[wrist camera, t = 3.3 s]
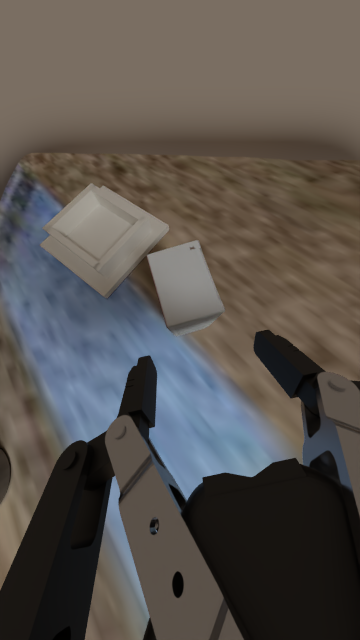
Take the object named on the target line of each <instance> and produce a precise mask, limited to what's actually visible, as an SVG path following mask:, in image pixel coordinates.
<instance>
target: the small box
mask: <svg viewBox="0 0 360 640" xmlns="http://www.w3.org/2000/svg"><path fill="white" fill-rule="evenodd" d="M146 257H147V260H148V263H149V267H150V270H151V274H152V278H153V281H154V285H155V288H156V291H157V295H158V299H159V302H160V305H161V309H162V312H163V316H164V319H165V323H166V326H167V328H168V329H169V330H170V331H171V332H172V333H173V334H174V335H175V336H176V337H177V336H180V335H184V334H187V333H190V332H194V331H197V330H200V329H203V328H206V327H208V326H209V325H210V324H211V323H212V322H213V321H214V320H216V319H217V318H218V317H219V316H220V315H221V314H222V313H223V312H224V311H225V308H224V305H223V303H222V301H221V299H220V297H219V294H218V292H217V289H216V287H215V284H214V282H213V279H212V277H211V274H210V271H209V269H208V266H207V264H206V261H205V259H204V256H203V253H202V250H201V247H200V244H199V241H198V240H196V241H192V242H189V243H185V244H182V245H178V246H175V247H171V248H168V249H165V250H161V251H158V252H154V253H151V254H148V255H147V256H146Z"/></svg>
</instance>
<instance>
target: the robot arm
mask: <svg viewBox="0 0 360 640" xmlns="http://www.w3.org/2000/svg"><path fill="white" fill-rule="evenodd" d="M254 352H255V354H256V355H257V356H258V358H259V359H260V360H261V362H262V363H263V364H264V365H265V367H266V368H267V369H268V370H269V372H270V373H271V374H272V375H273V377H274V378H275V379H276V380H277V382H278V383H279V384H280V385H281V387H282V388H283V389H284V390H285V392H286V393H287V394H288V396H289V397H290V398H295V397H299V398H300V399H301V411H302V420H303V429H304V445H303V453H302V454H303V465H302V464H299V462H298V461H297V459H296V458H293V459H288V460H283V461H278V462H274V463H272V464H270V465H269V466H268V467H266V468H265V469H264V470H262V471H261V472H260V473H258V474H257V475H256V476H254V477H246V476H241V475H235V474H230V473H221V474H217V475H212V476H207V477H202V478H203V483H201V484H200V485H199V486H198V487H197V488H196V489H195V490H194V491H193V492H192V494H191V495H190V497H189V498H188V500H186V498H185V496H184V495H183V493H182V491H181V489H180V488H179V486H178V484H177V483H176V481H175V479H174V478H173V476H172V475H171V473H170V472H169V471H168V469H167V468H166V466H165V464H164V462H163V461H162V459H161V457H160V456H159V454H158V452H157V450H156V449H155V447H154V445H153V443H152V442H151V440H150V438H149V428H152V427H155V411H156V387H157V371H156V368H155V365H154V363H153V361H152V359H151V357H150V356H144V357H140V358H139V359H138V364H137V366H133V367H132V369H131V370H130V372H129V374H128V378H127V382H126V386H125V390H124V394H123V398H122V402H121V406H120V410H119V414H118V416H117V419H115V420H114V421H113V422H112V424H111V425H110V426H109V428H108V430H107V431H106V432H104V433H102V434H101V435H99V436H97V437H96V438H94V439H92V440H91V441H89V442H87V443H86V442H85V441H82V440H80V441H76V442H74V443H72V444H71V445H70V446H69V447H67V448H66V449H65V451H64V452H63V453H62V454H61V456H60V457H59V459H58V460H57V462H56V464H55V466H54V469H53V471H52V473H51V476H50V478H49V480H48V483H47V485H46V487H45V489H44V492H43V494H42V496H41V499H40V501H39V503H38V505H37V508H36V510H35V512H34V515H33V517H32V519H31V521H30V524H29V526H28V528H27V531H26V533H25V535H24V538H23V540H22V542H21V544H20V547H19V549H18V551H17V554H16V556H15V558H14V560H13V563H12V565H11V567H10V570H9V572H8V574H7V577H6V579H5V581H4V583H3V586H2V588H1V590H0V640H84V639H85V634H86V628H87V622H88V616H89V610H90V605H91V599H92V593H93V587H94V581H95V576H96V570H97V564H98V558H99V553H100V547H101V541H102V535H103V529H104V524H105V518H106V512H107V506H108V500H109V495H110V489H111V483H112V477H114V476H116V479H117V482H118V485H119V489H120V497H119V510H120V514H121V518H122V521H123V525H124V528H125V532H126V535H127V539H128V542H129V546H130V549H131V553H132V556H133V559H134V563H135V566H136V570H137V573H138V577H139V580H140V584H141V587H142V591H143V594H144V598H145V601H146V604H147V608H148V611H149V615H150V618H149V621H148V625H147V628H146V631H145V635H144V638H143V640H360V381H350V380H348V379H347V378H345V377H343V376H341V375H338V374H335V373H331V372H326V371H324V370H323V369H322V368H321V367H319V366H318V365H317V364H316V363H315V362H313V361H312V360H311V359H310V358H309V357H307V356H306V355H305V354H304V353H302V352H301V351H299V349H298V348H296V347H295V346H293V344H292V343H290V342H289V341H288V340H287V339H285V338H283V337H281V336H279V335H274V334H273V333H272V332H271V331H270V330H264V331H260V332H256V335H255V341H254ZM9 479H10V466H9V462H8V459H7V457H6V455H5V453H4V452H3V451H2V450H1V449H0V503H1V502H2V500H3V498H4V496H5V494H6V492H7V488H8V485H9ZM156 530H157V532H156Z"/></svg>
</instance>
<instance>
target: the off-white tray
mask: <svg viewBox="0 0 360 640" xmlns="http://www.w3.org/2000/svg"><path fill="white" fill-rule="evenodd" d="M43 229H44V230H45V231H46V232H48V233H49V234H50V236H49V237H48V238H47V239H45V240H44V241H43V242H42V243H41V244H40V246H41V247H43V248H44V249H45V250H46V251H48V252H49V253H50V254H51V255H53V256H54V257H55V258H56V259H58V260H59V261H60V262H61V263H62V264H64V265H65V266H66V267H67V268H69V269H70V270H71V271H72V272H74V273H75V274H76V275H77V276H79V277H80V278H81V279H82V280H84V281H85V282H86V283H87V284H89V285H90V286H91V287H92V288H93V289H95V290H96V291H97V292H98V293H100V294H101V295H102V296H103V297H105V298H108V297H109V296H110V295H111V294H112V293H113V292H114V291H115V289H116V288H117V287H118V286H119V285H120V284H121V283H122V282H123V281H124V279H125V278H126V277H127V276H128V275H129V274H130V273H131V272H132V271H133V269H134V268H135V267H136V266H137V265H138V264H139V263H140V262H141V261H142V259H143V258H144V257H145V256H146V255H147V254H148V253H149V252H150V251H151V250H152V248H153V247H154V246H155V245H156V244H157V243H158V242H159V241H160V240H161V238H162V237H163V236H164V235H165V234H166V233H167V232H168V231H169V225H167V224H166V223H164V222H162V221H161V220H159V219H157V218H156V217H154V216H152V215H151V214H149V213H147V212H146V211H144V210H142V209H141V208H139V207H138V206H136V205H134V204H133V203H131V202H129V201H128V200H126V199H124V198H123V197H121V196H119V195H118V194H116V193H114V192H113V191H111V190H110V189H108V188H106V187H105V186H102V187H101V188H98V187H97V186H95V185H93V184H92V183H91V184H90V185H89V186H88V187H87V188H85V189H84V190H83V191H82V192H81V193H80V194H79V195H78V196H77V197H76V198H75V199H73V200H72V201H71V202H70V203H69V204H68V205H67V206H66V207H65V208H64V209H63V210H61V211H60V212H59V213H58V214H57V215H56V216H55V217H54V218H53V219H52V220H51V221H50V222H48V223H47V224H46V225H45V226H44V227H43Z"/></svg>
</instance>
